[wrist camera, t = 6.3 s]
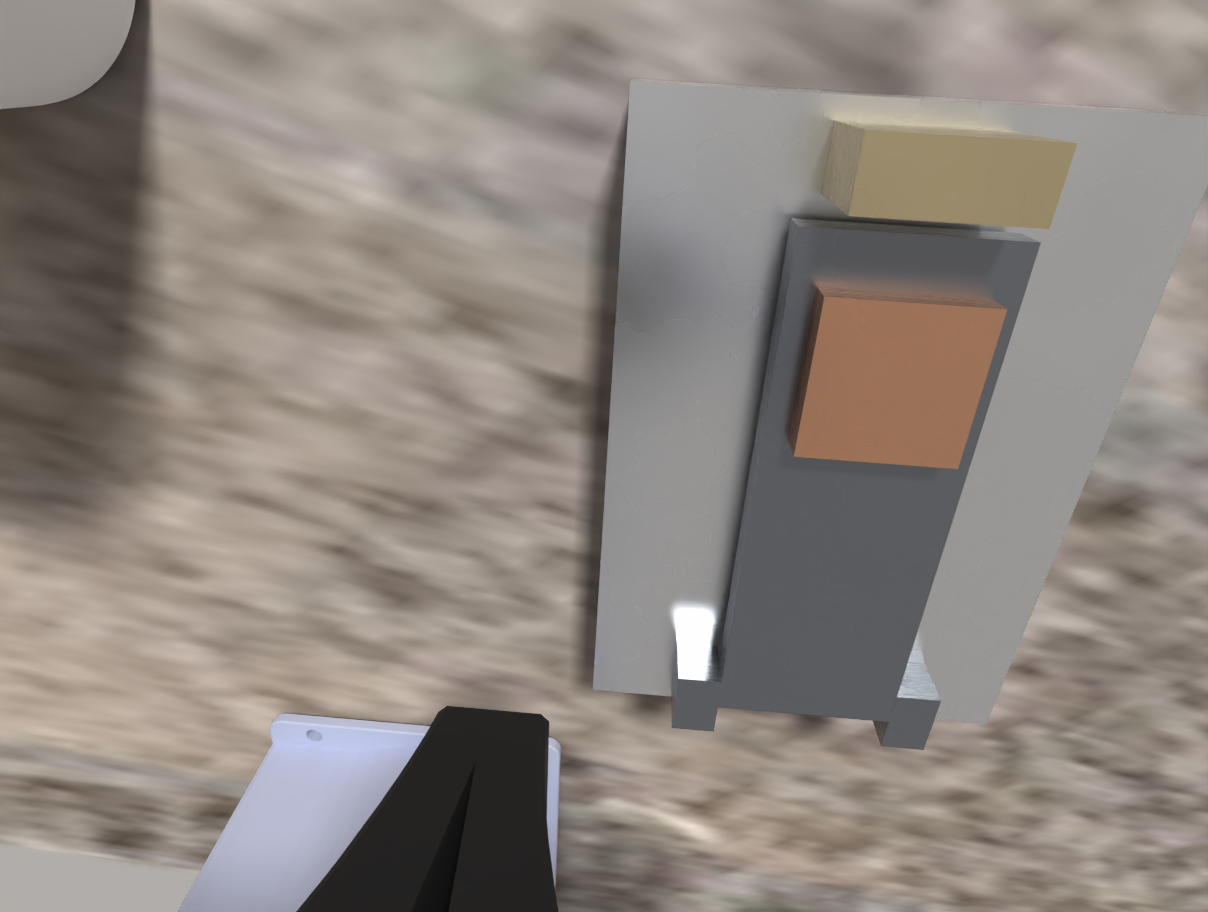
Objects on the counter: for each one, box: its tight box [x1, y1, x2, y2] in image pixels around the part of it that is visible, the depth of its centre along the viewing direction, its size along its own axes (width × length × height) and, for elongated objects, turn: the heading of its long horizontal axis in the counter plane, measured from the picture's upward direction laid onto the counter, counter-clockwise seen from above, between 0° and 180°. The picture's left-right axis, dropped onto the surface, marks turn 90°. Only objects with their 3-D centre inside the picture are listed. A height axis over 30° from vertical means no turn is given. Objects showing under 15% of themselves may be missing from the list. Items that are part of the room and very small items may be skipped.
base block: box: [593, 79, 1208, 750], centre depth 16 cm, size 10×14×5 cm
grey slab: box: [718, 218, 1041, 722], centre depth 15 cm, size 4×11×1 cm, turn 177°
